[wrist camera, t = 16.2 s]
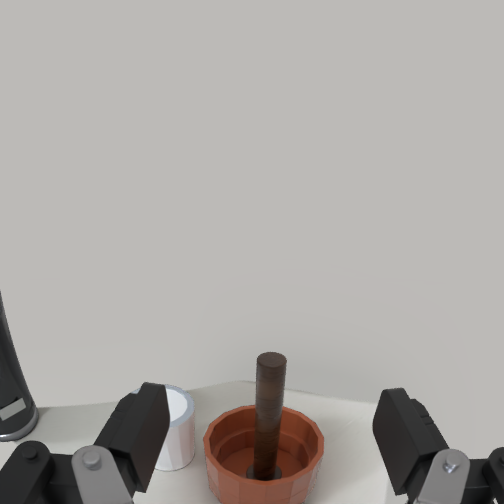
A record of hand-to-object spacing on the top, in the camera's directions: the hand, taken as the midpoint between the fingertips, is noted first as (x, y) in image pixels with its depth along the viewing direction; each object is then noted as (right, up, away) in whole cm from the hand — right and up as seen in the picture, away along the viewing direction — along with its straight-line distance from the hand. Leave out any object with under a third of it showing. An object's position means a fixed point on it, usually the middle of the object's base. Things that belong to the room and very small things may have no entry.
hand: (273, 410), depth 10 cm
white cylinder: (-9, -15, +17) cm, 24 cm away
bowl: (0, -16, +14) cm, 21 cm away
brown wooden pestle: (0, -15, +13) cm, 20 cm away
